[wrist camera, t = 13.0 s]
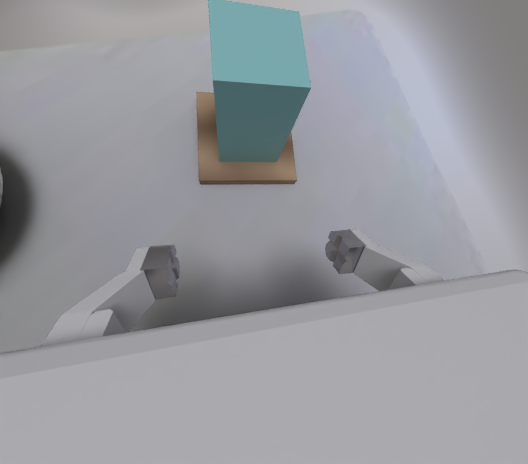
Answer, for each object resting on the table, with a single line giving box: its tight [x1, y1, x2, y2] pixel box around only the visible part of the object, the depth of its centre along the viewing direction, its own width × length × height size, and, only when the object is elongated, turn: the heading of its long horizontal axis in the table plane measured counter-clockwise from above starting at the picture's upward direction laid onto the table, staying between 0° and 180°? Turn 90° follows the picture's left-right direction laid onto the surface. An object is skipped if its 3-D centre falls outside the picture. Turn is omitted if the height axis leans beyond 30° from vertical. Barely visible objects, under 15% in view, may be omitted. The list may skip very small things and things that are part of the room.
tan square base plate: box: [197, 92, 297, 184], centre depth 18 cm, size 10×10×8 cm
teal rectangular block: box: [208, 0, 311, 162], centre depth 17 cm, size 6×6×9 cm
